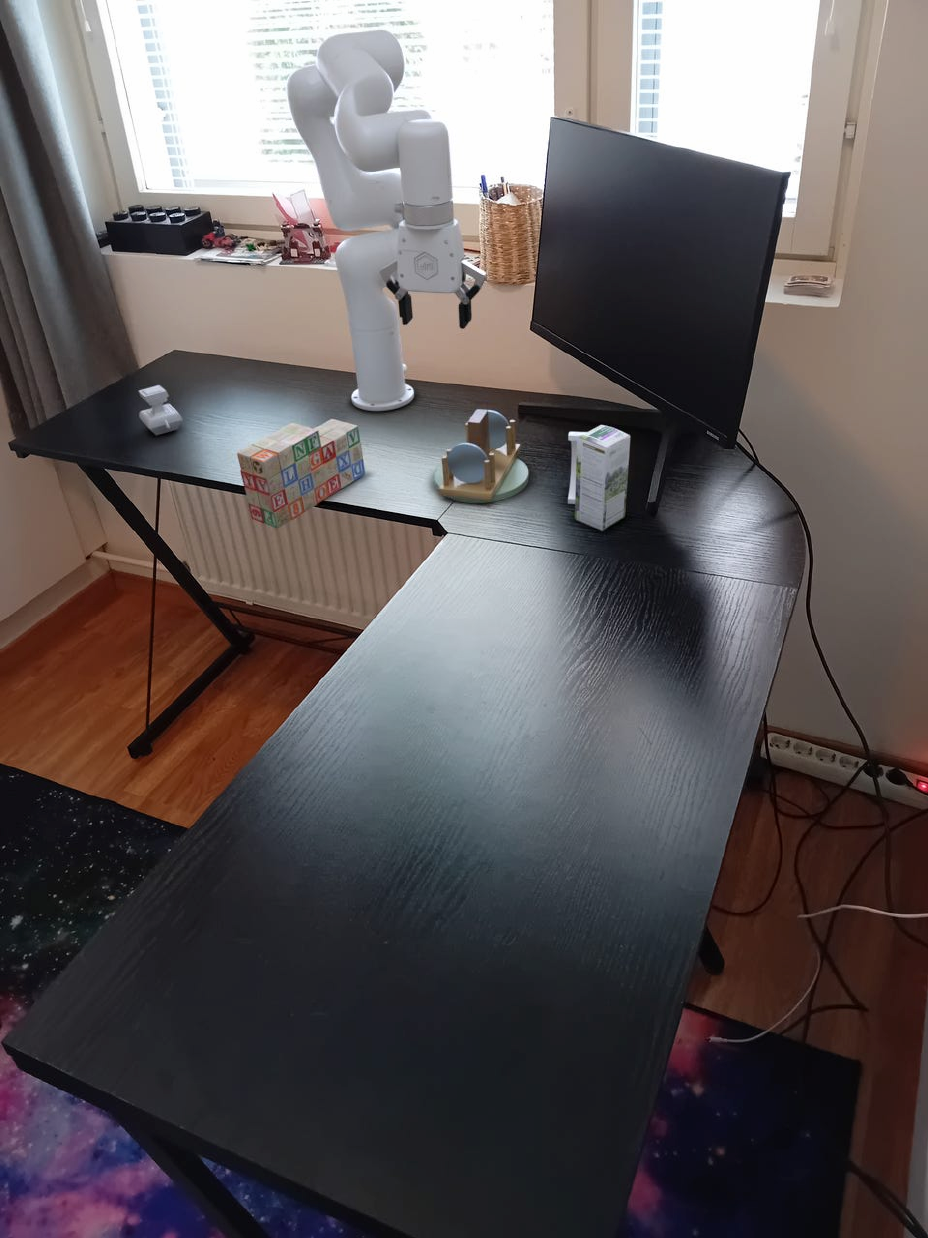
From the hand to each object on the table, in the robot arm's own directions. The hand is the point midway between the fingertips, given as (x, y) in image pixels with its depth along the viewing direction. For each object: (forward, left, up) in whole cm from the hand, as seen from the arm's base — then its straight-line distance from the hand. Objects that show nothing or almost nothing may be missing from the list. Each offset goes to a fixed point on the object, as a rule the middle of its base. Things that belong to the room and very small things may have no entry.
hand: (435, 323), depth 152 cm
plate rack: (+6, +8, -23) cm, 25 cm away
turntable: (+6, +8, -25) cm, 26 cm away
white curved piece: (+8, +26, -25) cm, 37 cm away
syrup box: (+15, +30, -25) cm, 42 cm away
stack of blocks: (+17, -19, -25) cm, 35 cm away
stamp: (-2, -59, -25) cm, 64 cm away
